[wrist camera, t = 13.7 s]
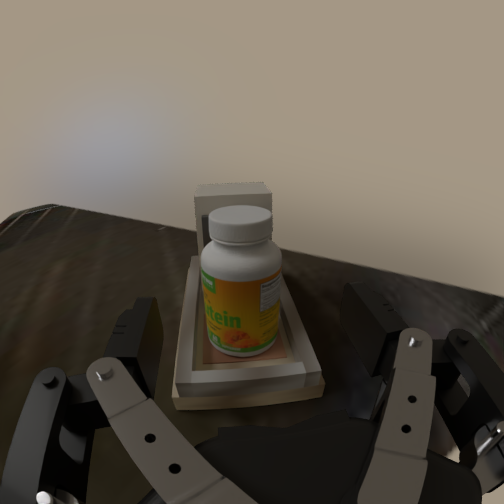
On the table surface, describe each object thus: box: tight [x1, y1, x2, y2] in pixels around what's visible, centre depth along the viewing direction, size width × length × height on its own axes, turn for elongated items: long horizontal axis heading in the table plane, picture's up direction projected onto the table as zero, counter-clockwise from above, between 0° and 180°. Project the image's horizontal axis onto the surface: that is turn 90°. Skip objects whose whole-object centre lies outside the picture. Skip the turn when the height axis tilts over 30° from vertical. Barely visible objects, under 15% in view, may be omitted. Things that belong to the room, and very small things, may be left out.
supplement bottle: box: [201, 205, 282, 357], centre depth 20 cm, size 5×5×10 cm
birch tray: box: [172, 256, 325, 410], centre depth 25 cm, size 10×18×3 cm, turn 7°
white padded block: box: [194, 182, 272, 306], centre depth 26 cm, size 6×5×10 cm
